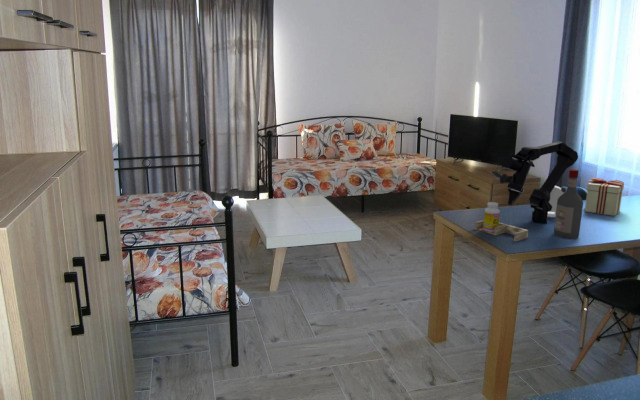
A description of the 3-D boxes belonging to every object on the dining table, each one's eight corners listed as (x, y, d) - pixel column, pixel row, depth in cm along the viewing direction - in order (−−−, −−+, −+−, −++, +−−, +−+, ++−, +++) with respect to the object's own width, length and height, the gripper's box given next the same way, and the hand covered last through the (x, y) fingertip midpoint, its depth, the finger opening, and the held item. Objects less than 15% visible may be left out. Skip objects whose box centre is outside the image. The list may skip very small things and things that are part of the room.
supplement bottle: (492, 233, 242) (495, 205, 238) (480, 229, 246) (482, 203, 243) (500, 230, 246) (503, 203, 243) (488, 227, 251) (490, 200, 247)
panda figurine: (563, 213, 276) (567, 184, 273) (562, 218, 267) (565, 189, 263) (539, 210, 282) (542, 182, 278) (536, 215, 272) (539, 186, 268)
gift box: (620, 209, 285) (625, 177, 281) (618, 217, 270) (622, 183, 265) (585, 204, 294) (589, 174, 289) (581, 212, 279) (585, 179, 274)
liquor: (566, 239, 234) (575, 172, 227) (550, 234, 242) (557, 168, 235) (581, 237, 238) (590, 171, 230) (565, 231, 246) (573, 167, 238)
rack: (527, 237, 237) (528, 230, 236) (516, 241, 232) (516, 233, 231) (486, 226, 254) (486, 219, 253) (474, 229, 248) (475, 222, 248)
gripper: (505, 169, 261) (494, 199, 263) (502, 166, 244) (490, 198, 246) (528, 176, 257) (517, 207, 259) (527, 174, 240) (515, 206, 242)
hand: (509, 204), depth 251 cm, fingers open, 9 cm apart
